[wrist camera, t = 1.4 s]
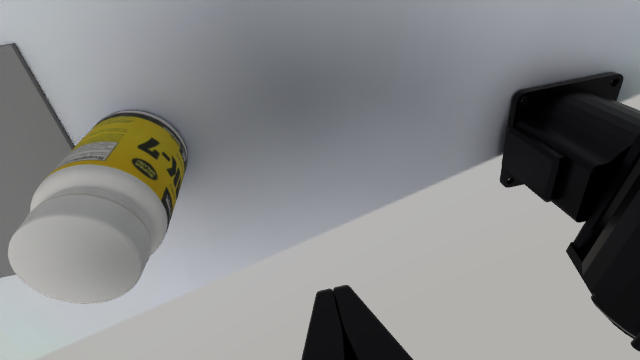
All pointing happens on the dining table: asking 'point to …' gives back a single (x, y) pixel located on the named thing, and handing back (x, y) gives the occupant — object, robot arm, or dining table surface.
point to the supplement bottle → (101, 210)
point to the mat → (23, 145)
